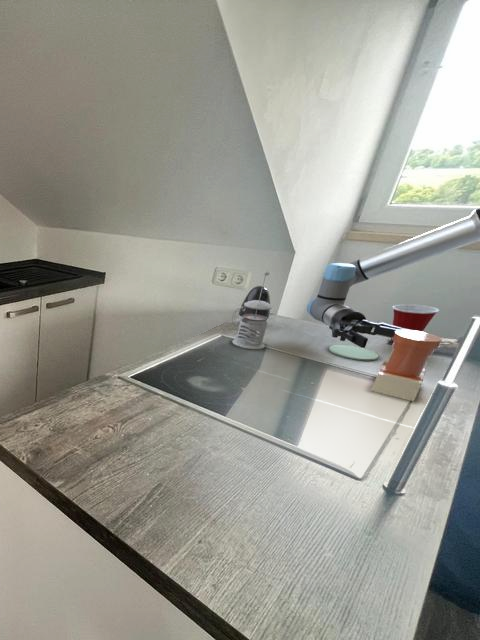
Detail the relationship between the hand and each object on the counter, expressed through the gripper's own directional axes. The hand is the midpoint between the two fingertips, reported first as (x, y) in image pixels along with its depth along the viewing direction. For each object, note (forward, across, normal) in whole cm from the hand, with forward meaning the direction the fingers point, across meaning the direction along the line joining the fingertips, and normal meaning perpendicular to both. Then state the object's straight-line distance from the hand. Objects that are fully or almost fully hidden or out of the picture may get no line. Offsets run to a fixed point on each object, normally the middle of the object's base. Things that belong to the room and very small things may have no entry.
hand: (393, 344), depth 104 cm
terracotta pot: (+6, 0, -5) cm, 8 cm away
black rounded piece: (-46, +16, -10) cm, 50 cm away
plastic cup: (-32, -26, -11) cm, 43 cm away
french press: (-25, +26, -11) cm, 37 cm away
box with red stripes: (+6, 0, -10) cm, 12 cm away
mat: (-19, -4, -10) cm, 22 cm away
